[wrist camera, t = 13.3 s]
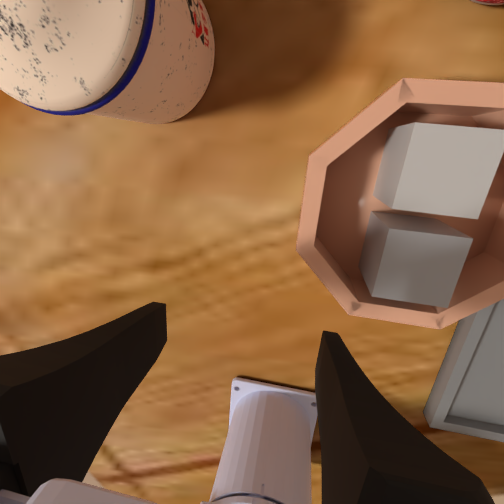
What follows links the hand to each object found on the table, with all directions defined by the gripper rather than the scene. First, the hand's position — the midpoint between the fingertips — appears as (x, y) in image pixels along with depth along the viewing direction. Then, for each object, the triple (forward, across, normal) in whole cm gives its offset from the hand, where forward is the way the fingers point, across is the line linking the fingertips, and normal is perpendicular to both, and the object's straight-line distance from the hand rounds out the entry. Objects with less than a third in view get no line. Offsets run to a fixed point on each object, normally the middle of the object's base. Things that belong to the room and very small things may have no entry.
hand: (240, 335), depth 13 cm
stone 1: (+9, -8, -8) cm, 15 cm away
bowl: (+10, -8, -5) cm, 14 cm away
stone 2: (+9, -9, -2) cm, 13 cm away
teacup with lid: (+10, +10, -14) cm, 20 cm away
